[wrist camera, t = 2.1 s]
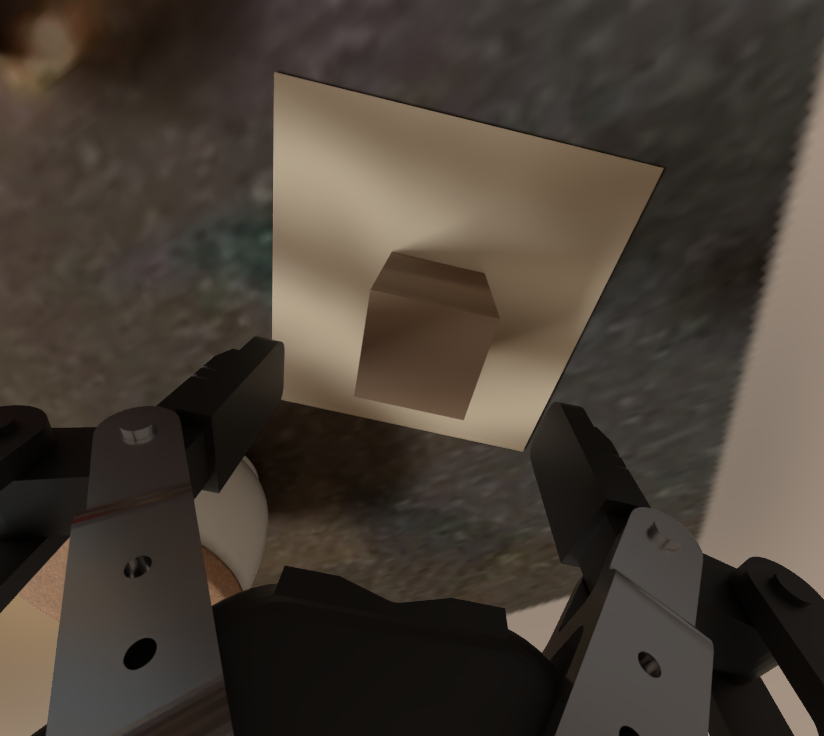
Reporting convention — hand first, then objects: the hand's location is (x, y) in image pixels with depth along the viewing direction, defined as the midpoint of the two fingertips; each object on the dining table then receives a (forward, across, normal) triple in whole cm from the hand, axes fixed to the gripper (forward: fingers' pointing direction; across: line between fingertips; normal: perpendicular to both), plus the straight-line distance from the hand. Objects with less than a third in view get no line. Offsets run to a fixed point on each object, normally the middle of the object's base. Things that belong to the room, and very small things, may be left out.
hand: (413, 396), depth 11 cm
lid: (+7, 0, 0) cm, 7 cm away
